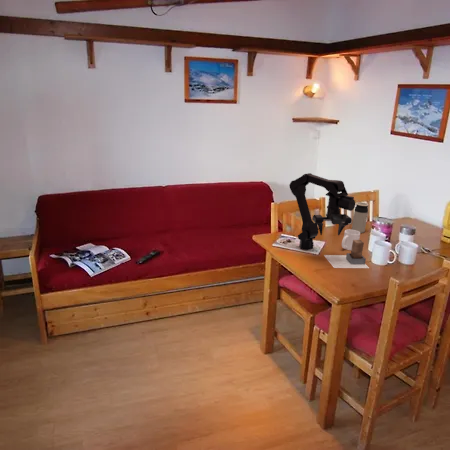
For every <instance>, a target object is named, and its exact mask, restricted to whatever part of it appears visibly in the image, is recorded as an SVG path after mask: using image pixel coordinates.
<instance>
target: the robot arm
mask: <svg viewBox="0 0 450 450" xmlns="http://www.w3.org/2000/svg"><path fill="white" fill-rule="evenodd" d="M309 183H310V184H313V185H316V186H319V187H322V188H324V189H325V190H326V191H327V193H325V196H327V197H328V203H327V206H326V209H327V211H326V214H325V216H323V215H321V214H313V215H311V212H310V208H309V204H308V202H307V201H308V200H307V197H306V191H307V185H309ZM288 185H289V189H290V191H291V194H292V195H293V196H294V197H295V198H296V203H297V206H298V210H299V214H300V217H301V221H302V226H301V232H300V233H299V234H297V239H298V240H299V246H298V247H299V248H300V249H301V250H305V251H308V250H313V249H314V240H315V239H316V237H317V236H318V235H319V233H320V236H322V235H323V229H324V228H323V227H324V221H325V222H331V224H332V225H338V226H337V227H338V229H337V235H338V236H340V235H341V234H342V232H343V229H344V228H345V227H346V226H349V225H352V224H353V218H351V216H349V215H347V214H346V213H345V214H344V213H341V209H342V210H347V211H349V212H352V211H354V210H355V207H356V203H357V202H356V200H355V198H354V197H355V196H351V195H350V196H349V194H348V191H347V189H346V187H345V183H344V181H342V180H338V179H337V180H336V179H327V178H324V177H323V176H322V177H321V176H318V175H315V174H312V173H309V172H308V173H304V174H302V175H301V176H299V177H298V178H296V179H295V180H294V179H293V180H291V181H290V183H289V184H288Z"/></svg>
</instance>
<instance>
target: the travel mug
mask: <svg viewBox="0 0 450 450" xmlns="http://www.w3.org/2000/svg"><path fill="white" fill-rule="evenodd" d="M355 203H356V205H355V208H354V209H353V218H352V223H351V230H356V231H359V232H360V234H361V233H363V234H364V233H365V232H366V225H367V219H368V213H369V208H368V206H369V203H366V202H362V201H359V202H355Z"/></svg>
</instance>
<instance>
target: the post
mask: <svg viewBox="0 0 450 450" xmlns="http://www.w3.org/2000/svg"><path fill="white" fill-rule="evenodd" d="M364 244H365V242H364V241H362V239H359V240H353V243H352V250H350V253H351V257H352V258H361V257H362V256H363V251H364Z"/></svg>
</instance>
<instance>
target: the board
mask: <svg viewBox="0 0 450 450" xmlns="http://www.w3.org/2000/svg"><path fill="white" fill-rule="evenodd" d="M346 255H347V254H344V255H343V254H323V256H324V257H325V259H326V260H327V261H328V262H329V264H330V265H331V266H332V267H333V268H334V269H370V267H369V266H368V265H367V264H366V263H365V264H350V262H349V261H348V260H347V259H346Z"/></svg>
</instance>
